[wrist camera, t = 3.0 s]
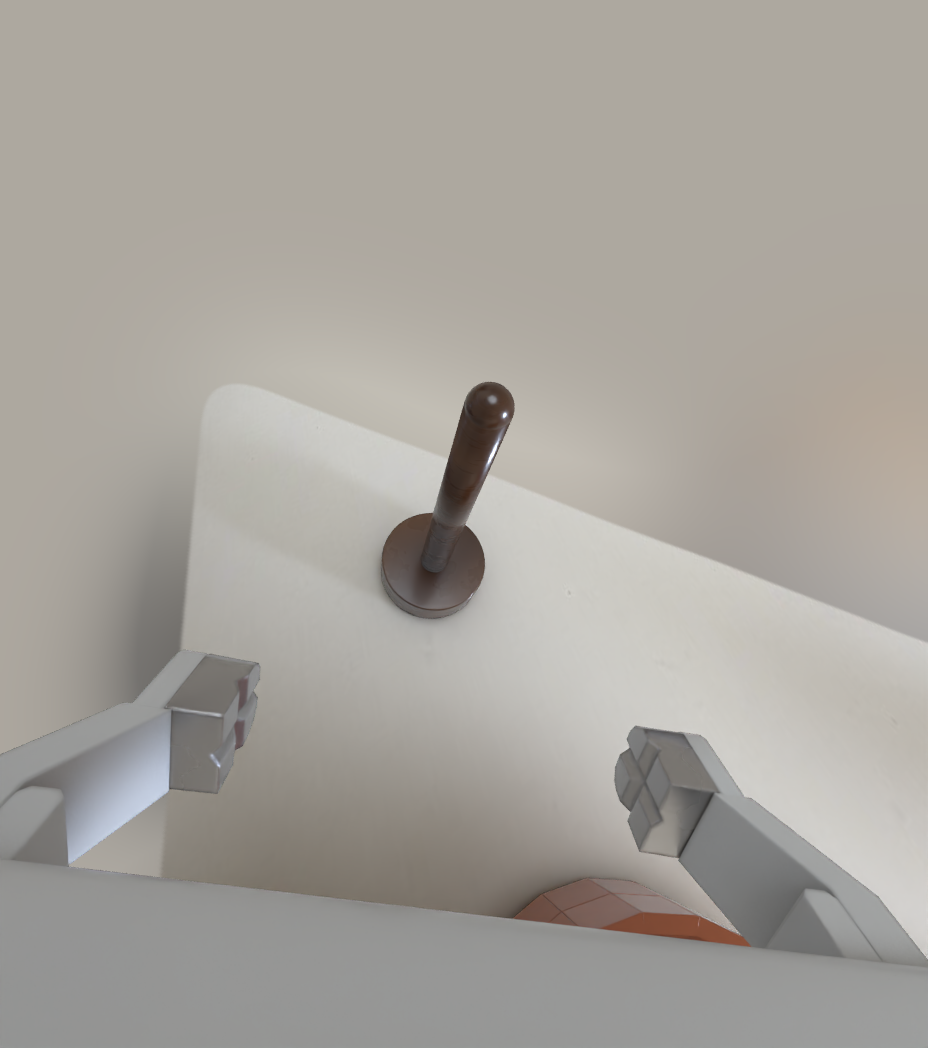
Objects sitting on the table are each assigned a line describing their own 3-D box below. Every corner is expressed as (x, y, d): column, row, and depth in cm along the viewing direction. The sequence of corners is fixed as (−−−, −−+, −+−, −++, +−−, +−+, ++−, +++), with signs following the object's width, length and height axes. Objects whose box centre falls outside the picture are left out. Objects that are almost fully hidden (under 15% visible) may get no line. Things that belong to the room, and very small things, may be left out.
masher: (360, 570, 29) (350, 382, 14) (427, 508, 31) (483, 290, 16) (433, 640, 28) (509, 519, 13) (497, 569, 30) (624, 400, 15)
